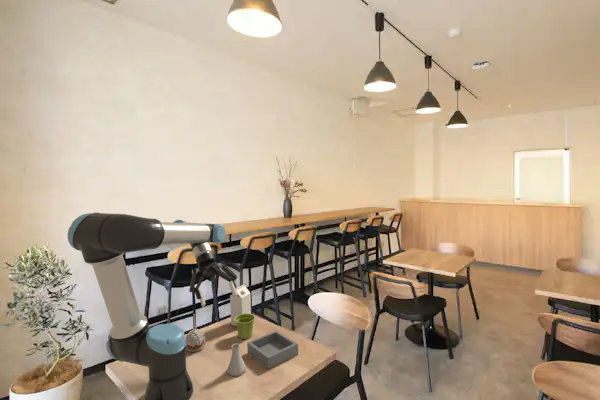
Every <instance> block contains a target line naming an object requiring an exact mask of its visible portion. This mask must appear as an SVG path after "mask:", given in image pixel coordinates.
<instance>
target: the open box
mask: <svg viewBox="0 0 600 400" xmlns="http://www.w3.org/2000/svg"><path fill="white" fill-rule="evenodd" d="M246 349H247V354H248V355H250V356H251V357H252V358H254V360H256V361H257V362H258V363H259V364H261V365H262V366H263V367H265V368H266V369H267V370H271V369H273V368H274V367H276V366H278V365H280V364H282V363H284V362H285V361H289V359H292V358H293V357H295V356H297V355H299V343H298V342H296V341H295V340H292V339H291V338H290V337H287V336H286V334H285V335H284V334H283V333H281V332H280V331H278V330H274V331H271V332H269V333H267V334H264V335H262V336H260V337H258V338H255V339H252V340H250V341H247V348H246Z"/></svg>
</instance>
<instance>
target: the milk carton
mask: <svg viewBox="0 0 600 400" xmlns="http://www.w3.org/2000/svg"><path fill="white" fill-rule="evenodd" d="M236 291H237V294H238V295H237V296H236V297H235V298H234V296H233V293H232V292H231V294H230V295H229V299H230V301H229V302H230V325H232V326H235V327H237V325H236V322H235V321H234V318H235V317H236V316H238V315H240V314H252V304H251V303H252V301H251V297H252V296H251V292H250V290H249V289H248V288H247V287H246V286H245V283H243V284H241V285H240V286H238V287H236Z"/></svg>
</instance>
